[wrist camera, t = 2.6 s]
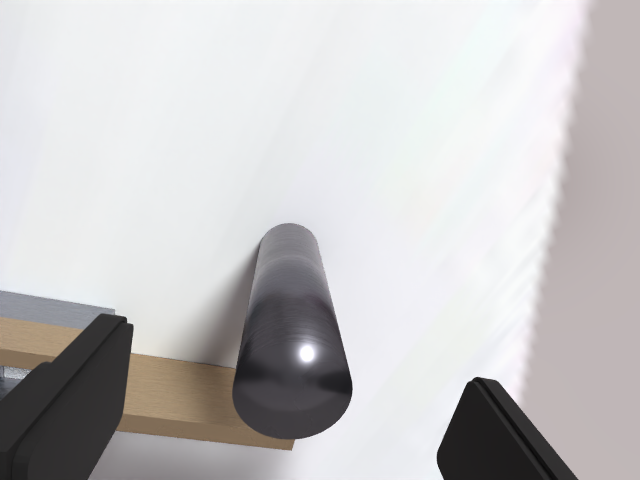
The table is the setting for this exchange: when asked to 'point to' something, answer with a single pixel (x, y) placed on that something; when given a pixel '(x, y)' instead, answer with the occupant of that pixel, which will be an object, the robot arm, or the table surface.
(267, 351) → the hinge pin
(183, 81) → the table surface
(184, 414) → the hinge
